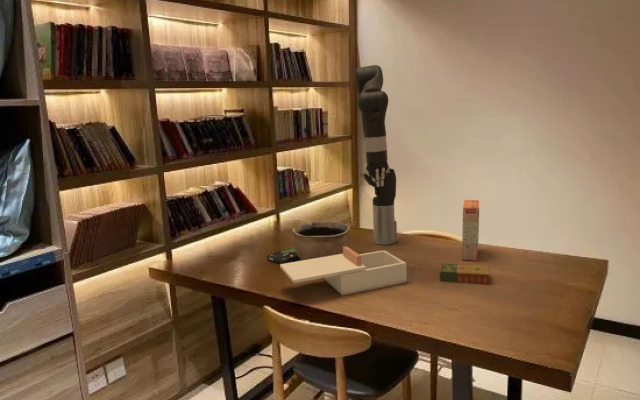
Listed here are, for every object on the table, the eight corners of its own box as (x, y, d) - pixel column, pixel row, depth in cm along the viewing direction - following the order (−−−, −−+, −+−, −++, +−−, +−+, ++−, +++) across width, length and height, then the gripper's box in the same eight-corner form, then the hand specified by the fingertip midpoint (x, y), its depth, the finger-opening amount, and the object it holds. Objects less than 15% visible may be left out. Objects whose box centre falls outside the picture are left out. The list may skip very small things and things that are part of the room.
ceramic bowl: (317, 252, 199) (315, 217, 196) (361, 260, 186) (360, 223, 183) (283, 268, 181) (280, 231, 178) (330, 278, 169) (328, 238, 166)
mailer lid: (346, 255, 170) (346, 244, 169) (366, 269, 155) (365, 257, 154) (280, 267, 162) (279, 255, 161) (293, 283, 147) (293, 270, 146)
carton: (489, 285, 156) (489, 273, 155) (439, 282, 161) (439, 270, 160) (489, 276, 163) (489, 264, 162) (441, 273, 169) (441, 262, 168)
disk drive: (282, 267, 185) (310, 257, 194) (281, 260, 184) (310, 250, 194) (266, 261, 192) (295, 252, 202) (266, 255, 192) (294, 246, 201)
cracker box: (478, 261, 178) (479, 207, 173) (461, 260, 180) (462, 207, 175) (478, 250, 191) (479, 199, 186) (463, 249, 192) (463, 199, 188)
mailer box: (384, 268, 176) (384, 250, 175) (406, 282, 161) (406, 263, 160) (324, 279, 168) (323, 260, 167) (341, 295, 154) (340, 275, 152)
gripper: (387, 145, 174) (389, 191, 178) (354, 150, 169) (358, 197, 173) (397, 147, 167) (400, 195, 171) (364, 152, 162) (368, 201, 166)
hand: (379, 196), depth 172 cm, fingers closed
